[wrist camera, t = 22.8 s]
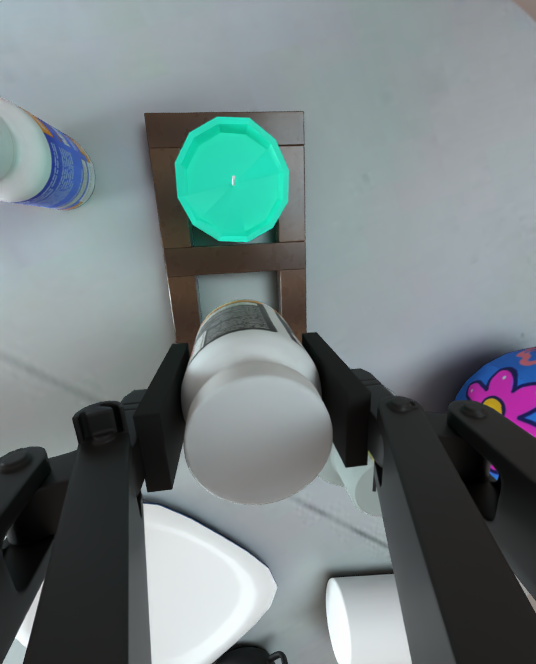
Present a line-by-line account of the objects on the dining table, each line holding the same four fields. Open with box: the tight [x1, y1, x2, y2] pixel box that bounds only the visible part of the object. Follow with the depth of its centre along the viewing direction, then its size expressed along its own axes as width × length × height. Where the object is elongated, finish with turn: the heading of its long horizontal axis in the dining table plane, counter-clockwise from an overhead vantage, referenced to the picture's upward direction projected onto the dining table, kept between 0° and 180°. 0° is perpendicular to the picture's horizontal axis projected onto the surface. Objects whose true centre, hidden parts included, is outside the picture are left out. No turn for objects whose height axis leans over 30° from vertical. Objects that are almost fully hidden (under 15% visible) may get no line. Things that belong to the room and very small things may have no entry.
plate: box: [16, 502, 277, 664], centre depth 36 cm, size 25×25×2 cm
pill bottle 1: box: [0, 97, 95, 210], centre depth 19 cm, size 5×5×10 cm
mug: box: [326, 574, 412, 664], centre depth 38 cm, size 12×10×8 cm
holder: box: [144, 111, 307, 356], centre depth 26 cm, size 21×11×2 cm, turn 3°
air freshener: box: [317, 387, 397, 517], centre depth 28 cm, size 11×8×10 cm
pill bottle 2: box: [181, 300, 333, 505], centre depth 14 cm, size 6×6×10 cm
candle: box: [175, 117, 289, 242], centre depth 20 cm, size 6×6×12 cm
